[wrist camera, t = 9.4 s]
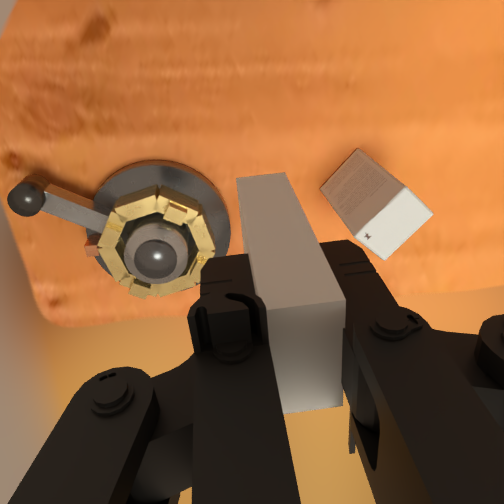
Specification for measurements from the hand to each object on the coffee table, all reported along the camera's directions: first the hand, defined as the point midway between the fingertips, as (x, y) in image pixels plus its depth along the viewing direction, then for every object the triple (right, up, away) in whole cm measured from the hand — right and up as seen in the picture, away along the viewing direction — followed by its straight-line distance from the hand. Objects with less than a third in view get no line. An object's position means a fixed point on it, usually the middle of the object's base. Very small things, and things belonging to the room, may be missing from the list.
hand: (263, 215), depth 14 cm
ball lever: (-14, +2, +31) cm, 34 cm away
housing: (-10, +2, +34) cm, 36 cm away
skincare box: (+10, +7, +34) cm, 36 cm away
